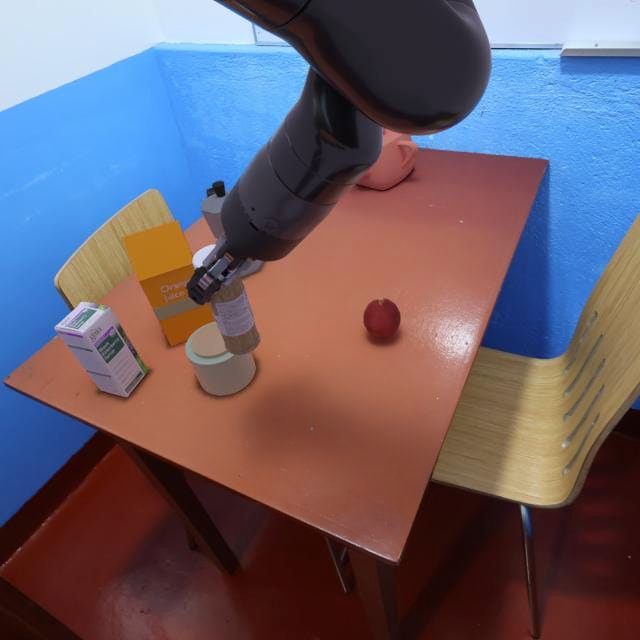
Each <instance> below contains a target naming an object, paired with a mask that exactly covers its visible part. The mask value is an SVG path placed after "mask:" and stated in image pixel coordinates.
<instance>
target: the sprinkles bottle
mask: <svg viewBox="0 0 640 640" xmlns="http://www.w3.org/2000/svg"><path fill="white" fill-rule="evenodd" d="M215 246H216V245H215V243H214V244H210V245H205V246H204V247H202V248H200V249H199V250H197V252H196V253H195V254H194V255H193V259H192V263H193V267H194V269H196V268H197V267H198V268H199V267H201V266H203V264H202V262H203V261H204V259H205V258H206V257H207V256H208V255H209V253H210V252H211V251H212V250H213V249H214V247H215ZM237 268H238V267H237ZM237 268H236V269H235V270H234V271H229V272H232V273H233V272H235V271H236V270H237ZM242 279H243V278H241V276H240V274H239V275H238V276H237V277H236V279H235V280H234V281H233V282H232V283H231V284H230V285H229V286H225V285H222V286H221V289H220V290H219V292H218V293H217V294H214V295H213V296H212V297H211V298H210V299H211V300H210V301H209V305H210V308H211V310H212V313H213V316H214V318H215V321H216V323H217V326H218V329H219V331H220V332H221V335H222V337H223V340H224V344H225V348H226V349H227V351H228V352H230V353H231V354H234V355H243V354H247V353H250V352H251V353H252V352H254V351H255V350H256V349H257V348H258V346H260V344H261V334H260V332H259V331H258V328H257V325H256V322H255V316H254V312H253V310H252V306H251V304H250V303H251V302H250V299H249V297H248V294H247V289H246V287H245V284H244V282H243V280H242Z"/></svg>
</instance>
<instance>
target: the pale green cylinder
mask: <svg viewBox="0 0 640 640" xmlns="http://www.w3.org/2000/svg"><path fill="white" fill-rule="evenodd" d="M184 347H185V348H184V352H185V355H186V358H187V360H188V362H189V363H190V365H191V368H192V370H193V371H194V374H195V376H196V378H197V380H198V382H199V385H200V386H201V388H202V389H203V390H204V392H206V393H207V394H209V395H213V396H216V397H217V396H219V397H221V396H229V395H233V394H236V393H238V392H240V391H242V390H243V389H244V388H246V387H247V386H248V385H249V384H250V383H251V382H252V381H253V379H254V378H255V374H256V370H257V366H256V363H255V359H254V356H253V353H252V352H250V353H247V354H243V355H234V354H231V353H230V352H228V351H227V349H226V348H225V344H224V340H223V337H222V335H221V332H220V331H219V329H218V326H217V323H216V322H212V323H209V324H206V325H204V326H202V327H200V328H199V329H197V330H196V331H195V332H194V333H193V334H192V335H191V336H190V337H189V339H188V340H187V341H186V343H185V346H184Z"/></svg>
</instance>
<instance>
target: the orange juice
mask: <svg viewBox="0 0 640 640" xmlns="http://www.w3.org/2000/svg"><path fill="white" fill-rule="evenodd" d="M121 240H122V242H123V245H124V248H125V250H126V253H127V255H128V258H129V260H130V263H131V266H132V268H133V270H134V273H135V275H136V278H137V282H138V283H139V285H140V287H141V289H142V291H143V293H144V295H145V297H146V299H147V301H148V303H149V305H150V307H151V309H152V312H153V314H154V315H155V318H156V319H157V321H158V322H159V324H160V327H161V328H162V331H163V332H164V334H165V336H166V338H167V341H168V342H169V345H170V346H171V347H174V346H176V345H179V344H181V343H185V342H187V341H188V339H189V337H190V336H191V335H192V334H193V333H194V332H195V331H196V330H197V329H199V328H200V327H202V326H204V325H206V324H209V323H212V322H216V321H215V318H214V316H213V313H212V310H211V308H210V305H209V302H208V303H207V302H206V303H205V304H204V305H197V304H196V303H195V302H194V301H193V300H192V299H191V298H189V297H188V293H187V292H188V290H187V289H186V286H187V283H188V282H189V281H190V279H191V277H192V275H193V274H194V273H195V272H194V271H195V269H194V267H193V263H192V259H193V257H194V255H193V253H192V250H191V248H190V246H189V243H188V240H187V238H186V237H185V234H184V231H183V229H182V226H181V225H180V221H179V220H178V219H177V220H174V221H170V222H168V223H164V224H161V225H157V226H154V227H151V228H148V229H145V230H141V231H137V232H134V233H132V234H128V235H125V236H122V237H121Z"/></svg>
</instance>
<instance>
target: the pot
mask: <svg viewBox="0 0 640 640" xmlns="http://www.w3.org/2000/svg"><path fill="white" fill-rule="evenodd" d="M419 148H420V147H419V145H418V143H416V142H415V141H413V139H412V135H405V134H400V133H396V132H392V131H390V130H387V129H385V128H383V145H382V150H381V153H380V156H379V158H378V160H377V161H376V163H375V164H374V165H373V167H372V168H371V169H370V170H369V171H368V172H367V173H366V174H365V175H364V176H363V177H362V178H361V179H360V180H359V181H358V182H357V183H356V184H355V185H359V186H363V187H367V188H370V189H374V190H379V191H384V190H385V191H386V190H388V189H390V188H392V187H393V186H396V185H397V184H398V183H400V182H402V181H403V180H404V179H405V178H406V177H407V176H408V175H410V173H411V172H412V170H413V168H414V165H415V162H416V159H415V158H416V156H417V155H418V152H419Z"/></svg>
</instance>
